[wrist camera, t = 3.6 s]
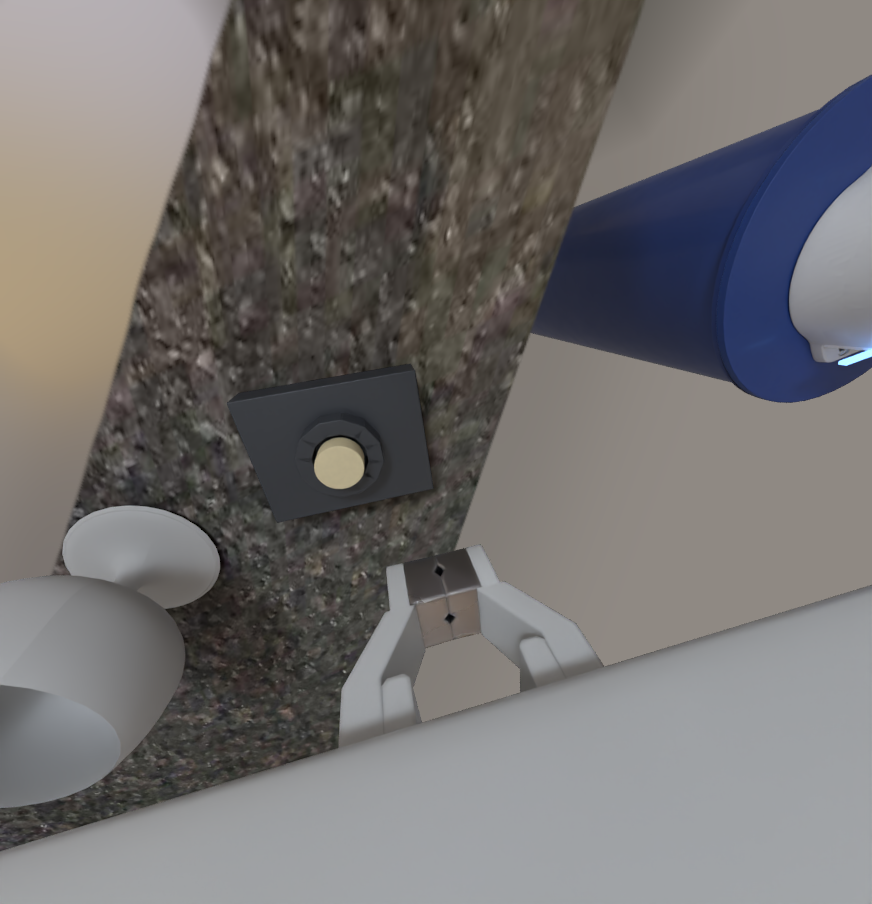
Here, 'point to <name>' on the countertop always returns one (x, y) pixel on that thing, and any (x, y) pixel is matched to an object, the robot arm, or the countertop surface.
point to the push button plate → (332, 416)
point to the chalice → (95, 649)
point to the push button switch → (339, 463)
